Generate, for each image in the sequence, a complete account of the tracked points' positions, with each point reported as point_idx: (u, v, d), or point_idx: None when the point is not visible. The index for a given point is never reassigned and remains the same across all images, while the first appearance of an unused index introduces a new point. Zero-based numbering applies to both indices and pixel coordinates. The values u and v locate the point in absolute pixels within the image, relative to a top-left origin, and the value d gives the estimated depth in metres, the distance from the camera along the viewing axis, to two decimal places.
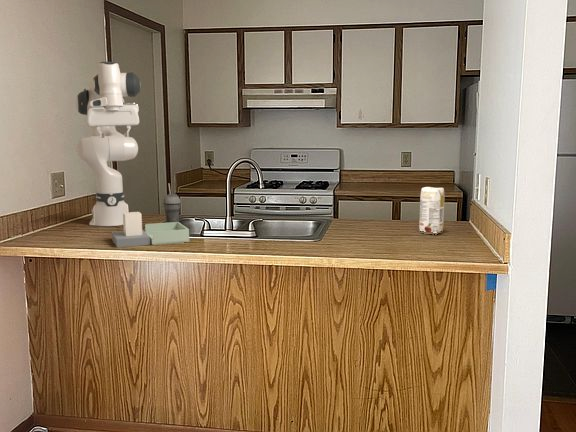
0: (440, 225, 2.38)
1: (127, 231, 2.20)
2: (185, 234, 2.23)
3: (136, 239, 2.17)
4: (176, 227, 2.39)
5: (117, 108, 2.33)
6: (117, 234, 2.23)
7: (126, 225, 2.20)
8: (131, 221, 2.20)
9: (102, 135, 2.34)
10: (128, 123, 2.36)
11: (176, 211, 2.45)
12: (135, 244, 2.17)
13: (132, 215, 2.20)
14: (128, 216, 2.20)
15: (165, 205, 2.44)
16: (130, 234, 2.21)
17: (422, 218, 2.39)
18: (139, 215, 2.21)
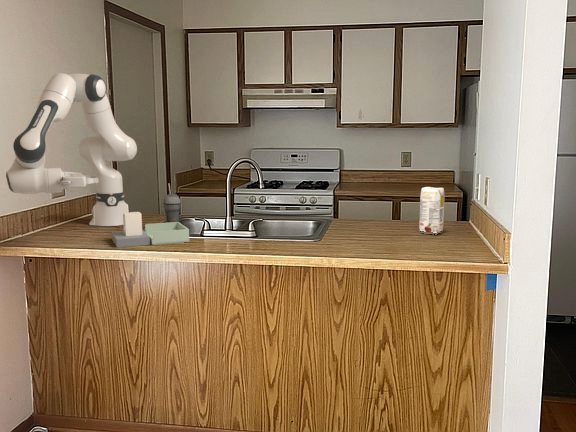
0: (440, 225, 2.38)
1: (127, 231, 2.20)
2: (185, 234, 2.23)
3: (136, 239, 2.17)
4: (176, 227, 2.39)
5: (65, 187, 2.11)
6: (117, 234, 2.23)
7: (126, 225, 2.20)
8: (131, 221, 2.20)
9: None
10: None
11: (176, 211, 2.45)
12: (135, 244, 2.17)
13: (132, 215, 2.20)
14: (128, 216, 2.20)
15: (165, 205, 2.44)
16: (130, 234, 2.21)
17: (422, 218, 2.39)
18: (139, 215, 2.21)
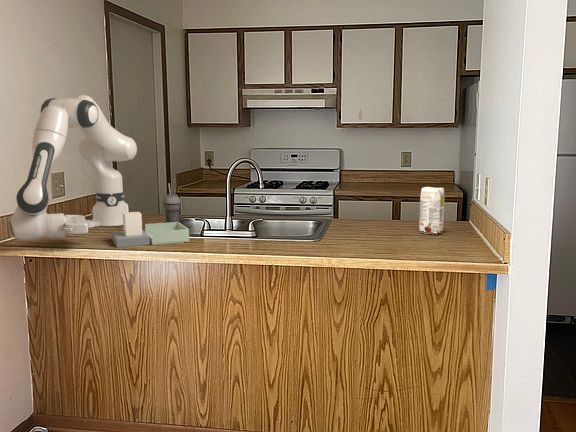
0: (440, 225, 2.38)
1: (127, 231, 2.20)
2: (185, 234, 2.23)
3: (136, 239, 2.17)
4: (176, 227, 2.39)
5: None
6: (117, 234, 2.23)
7: (126, 225, 2.20)
8: (131, 221, 2.20)
9: None
10: None
11: (176, 211, 2.45)
12: (135, 244, 2.17)
13: (132, 215, 2.20)
14: (128, 216, 2.20)
15: (165, 205, 2.44)
16: (130, 234, 2.21)
17: (422, 218, 2.39)
18: (139, 215, 2.21)
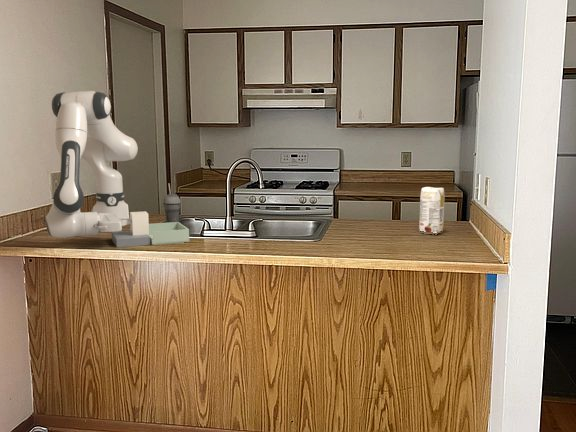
0: (440, 225, 2.38)
1: (134, 231, 2.21)
2: (185, 234, 2.23)
3: (136, 239, 2.17)
4: (176, 227, 2.39)
5: (101, 230, 2.18)
6: (117, 234, 2.23)
7: (133, 225, 2.21)
8: (138, 220, 2.21)
9: None
10: None
11: (176, 211, 2.45)
12: (135, 244, 2.17)
13: (139, 215, 2.21)
14: (135, 216, 2.21)
15: (165, 205, 2.44)
16: (137, 234, 2.22)
17: (422, 218, 2.39)
18: (146, 215, 2.22)
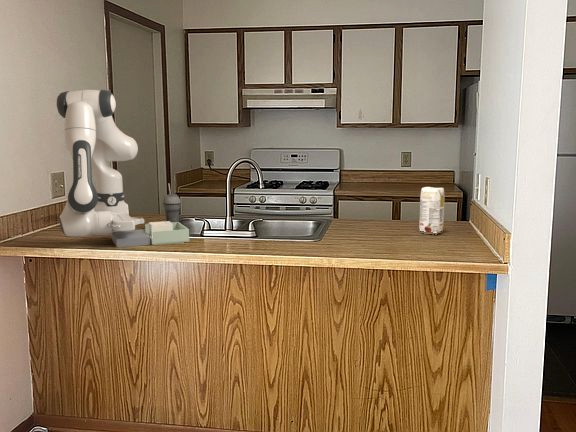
0: (440, 225, 2.38)
1: (156, 226, 2.24)
2: (185, 234, 2.23)
3: (136, 239, 2.17)
4: (176, 227, 2.39)
5: (114, 229, 2.20)
6: (117, 234, 2.23)
7: (162, 225, 2.25)
8: (166, 229, 2.26)
9: None
10: None
11: (176, 211, 2.45)
12: (135, 244, 2.17)
13: None
14: (170, 227, 2.26)
15: (165, 205, 2.44)
16: (152, 229, 2.24)
17: (422, 218, 2.39)
18: None
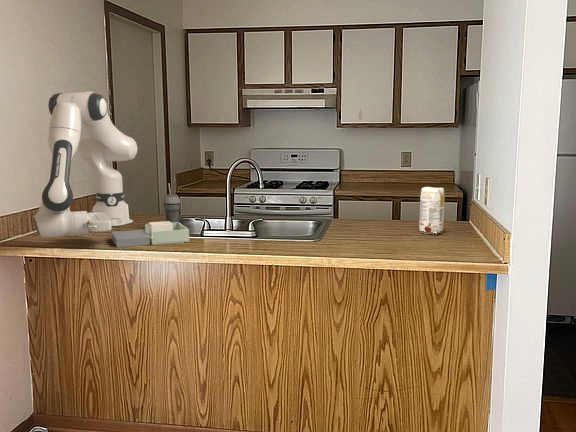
0: (440, 225, 2.38)
1: (156, 226, 2.24)
2: (185, 234, 2.23)
3: (136, 239, 2.17)
4: (176, 227, 2.39)
5: None
6: (117, 234, 2.23)
7: (162, 225, 2.25)
8: (166, 229, 2.26)
9: None
10: None
11: (176, 211, 2.45)
12: (135, 244, 2.17)
13: None
14: (170, 227, 2.26)
15: (165, 205, 2.44)
16: (152, 229, 2.24)
17: (422, 218, 2.39)
18: None
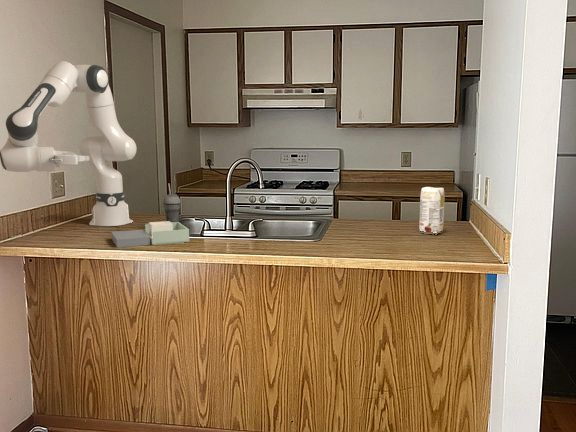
0: (440, 225, 2.38)
1: (156, 226, 2.24)
2: (185, 234, 2.23)
3: (136, 239, 2.17)
4: (176, 227, 2.39)
5: (57, 165, 2.14)
6: (117, 234, 2.23)
7: (162, 225, 2.25)
8: (166, 229, 2.26)
9: None
10: None
11: (176, 211, 2.45)
12: (135, 244, 2.17)
13: None
14: (170, 227, 2.26)
15: (165, 205, 2.44)
16: (152, 229, 2.24)
17: (422, 218, 2.39)
18: None
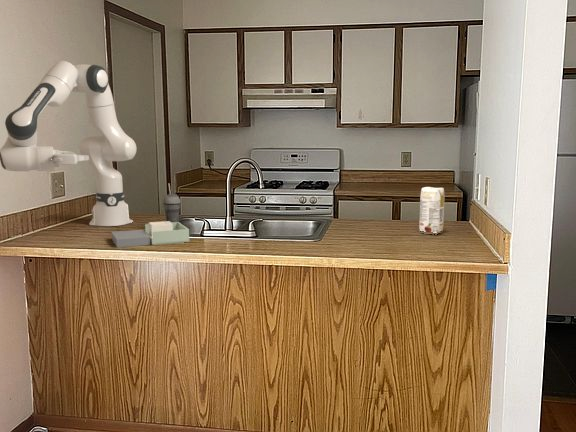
0: (440, 225, 2.38)
1: (156, 226, 2.24)
2: (185, 234, 2.23)
3: (136, 239, 2.17)
4: (176, 227, 2.39)
5: (56, 165, 2.14)
6: (117, 234, 2.23)
7: (162, 225, 2.25)
8: (166, 229, 2.26)
9: None
10: None
11: (176, 211, 2.45)
12: (135, 244, 2.17)
13: None
14: (170, 227, 2.26)
15: (165, 205, 2.44)
16: (152, 229, 2.24)
17: (422, 218, 2.39)
18: None
